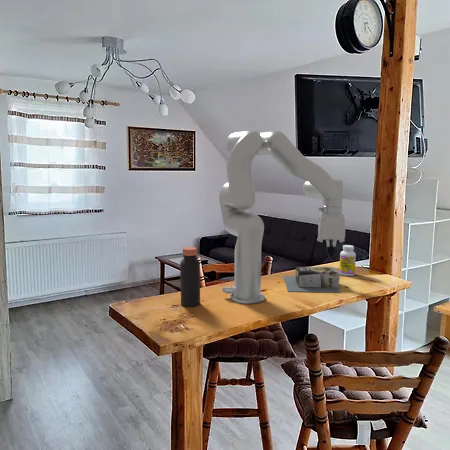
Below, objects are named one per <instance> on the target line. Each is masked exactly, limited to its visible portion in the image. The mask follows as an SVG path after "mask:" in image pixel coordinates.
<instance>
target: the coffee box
mask: <svg viewBox="0 0 450 450" xmlns="http://www.w3.org/2000/svg"><path fill="white" fill-rule="evenodd" d="M295 276H296V282H297V285H298V287H332V288H338V289H339V288H340V278H341V274H340V273H339V270H338V269H337V268H336V267H335V266H295Z"/></svg>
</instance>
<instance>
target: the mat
mask: <svg viewBox="0 0 450 450" xmlns="http://www.w3.org/2000/svg"><path fill="white" fill-rule="evenodd" d="M282 277H283V280H284V284H285V286H286V289H287V292H288V293H329V294H330V293H333V294H334V293H335V294H337V293H338V294H339V293H341V290H340V289H339V288H332V287H298V285H297V282H296V275H283V276H282Z"/></svg>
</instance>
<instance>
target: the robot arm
mask: <svg viewBox="0 0 450 450" xmlns="http://www.w3.org/2000/svg"><path fill="white" fill-rule="evenodd" d="M225 147H226V150H227V152H228V153H229V155H228V158H227V161H226V176H227V181H228V182H226V183H224V184H223V185H222V186H221V188H220V190H219V194H218V202H219V207H220V212H221V217H222V220H223V226H224V229H225V230H226V232H227V233H229V234H231V235H233V236H235V237H237V238H236V242H235V247H234V284H233V285H232V286H222V288H221V291H222V293H225V294H230V297H229V298H230V300H231V301H233V302H234V303H238V304H243V305H244V304H245V305H246V304H247V305H248V304H250V305H251V304H258V303H261V302H263V301H265V299H266V296H265V294H264V293H262V292H261V291H262V290H261V289H262V287H261V285H262V279H261V278H262V245H263V244H262V242H263V237H264V231H265V224H264V220H263V219H262V217H260V216H259V215H258V214H256V213H253V212H250V211H246V210H250V209H252V208H253V207H254V206H255V204H256V190H255V185H254V180H253V173H252V166H253V165H252V164H253V161H254V159H255V158H256V156H262V155H263V156H264V155H265V156H266V155H267V156H268V155H269V156H271V157H272V158H273V160H274V161H276V163H277V164H278V165H279V166H280V167H281V168H282V170H284V171H285V172H286V173H287V174H289V175H291V176H293V177H295V178H298V179H301V180H303V181H305V182H304V183H303V186H302V192H303V195H305V196H306V197H307V198H310V199H316V200H322V206H320V207H318V212H320V214H319V218H318V219H319V220H318V224H317V227H318V228H317V238H316V241H317V242H320V243H323V244H324V245H325V247H326V251H325V252H326V253H325V254H326V255H327V256H328V257H329V258H330V257H331V258H333V257H334V255H335V251H336V249H335V248H336V247H337V245H338V244H339V243H344V242H346V240H345V239H346V220H345V215H344V214H343V213H342V212H343V192H344V191H343V189H344V182H343V180H342V179H339V178H332V176H331V175H330V174H329V173H328V172H327V171H326V170H325V169H324V168H322V167H321V166H319V165H318V164H316V163H315V162H313V161H312V160H311V159H309V158H307V157H306V156H304V155H303V153H301V151H300V150H299V149H298V148H297V147H296V146H295V145H294V144H293V142H292V141H291V140H290V139H289V138H288V137H287V136H286V135H285V134H284V133H283V132H282V131H281V130H269V131H268V130H267V131H258V130H257V131H256V130H253V129H251V130H250V129H247V130H242V131H235V132H232V133H230V135H228V137H227V138H226V141H225ZM330 240H331V244H330Z"/></svg>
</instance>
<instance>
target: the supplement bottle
mask: <svg viewBox="0 0 450 450" xmlns="http://www.w3.org/2000/svg"><path fill="white" fill-rule="evenodd" d="M342 249H343V250H342V251H340V252H339V253H340V254H339V268H338V269H339V270H338V272H339V273H340V276H344V277H353V276H354V275H355V274H356V259H357V256H356V255H357V253H356V252H355V251H354V249H355V246H354V245H351V244H344V245H342Z"/></svg>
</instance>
